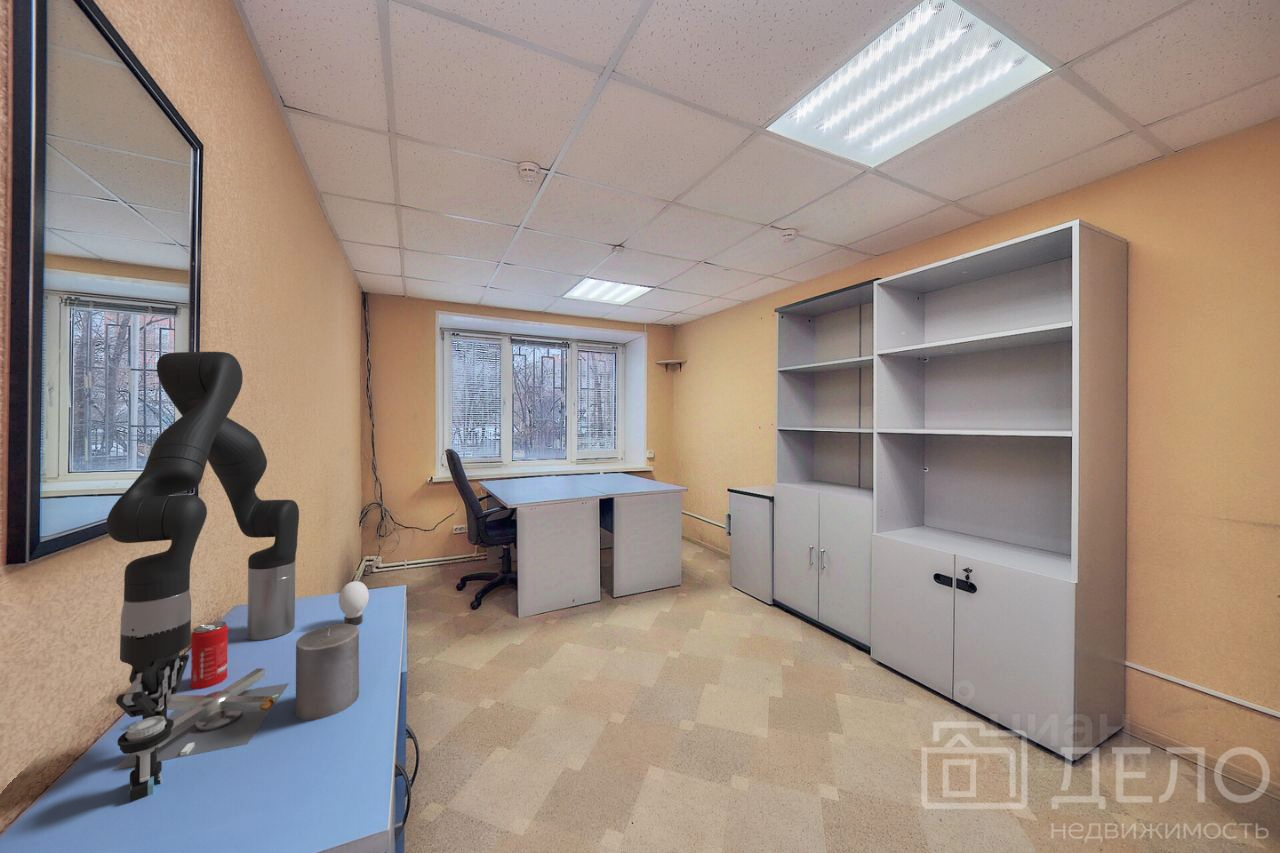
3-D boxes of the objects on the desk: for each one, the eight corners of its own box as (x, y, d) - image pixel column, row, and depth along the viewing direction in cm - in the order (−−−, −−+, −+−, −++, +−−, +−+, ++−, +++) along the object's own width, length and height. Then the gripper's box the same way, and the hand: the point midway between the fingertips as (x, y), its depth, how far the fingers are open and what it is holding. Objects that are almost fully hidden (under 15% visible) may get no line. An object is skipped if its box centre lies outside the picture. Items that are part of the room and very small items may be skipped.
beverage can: (204, 695, 86) (205, 633, 86) (183, 692, 87) (184, 630, 87) (233, 680, 91) (234, 622, 91) (214, 677, 92) (214, 619, 92)
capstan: (92, 760, 68) (92, 734, 68) (212, 687, 87) (212, 666, 87) (220, 762, 68) (221, 736, 68) (312, 688, 87) (312, 668, 87)
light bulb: (340, 631, 113) (341, 588, 113) (336, 622, 118) (336, 581, 118) (371, 624, 117) (371, 582, 117) (365, 615, 122) (366, 575, 122)
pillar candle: (317, 693, 87) (317, 617, 87) (369, 691, 88) (369, 616, 88) (281, 727, 77) (281, 642, 77) (340, 724, 78) (340, 640, 78)
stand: (185, 705, 83) (185, 696, 83) (289, 687, 89) (289, 679, 89) (112, 776, 66) (113, 765, 66) (247, 749, 72) (247, 739, 72)
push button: (121, 787, 64) (121, 718, 64) (174, 768, 68) (175, 703, 68) (113, 817, 59) (114, 742, 59) (171, 794, 63) (172, 724, 63)
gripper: (153, 609, 75) (151, 712, 75) (90, 646, 62) (87, 769, 62) (210, 603, 77) (208, 703, 77) (160, 638, 65) (157, 756, 65)
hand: (154, 732), depth 70 cm, fingers closed
